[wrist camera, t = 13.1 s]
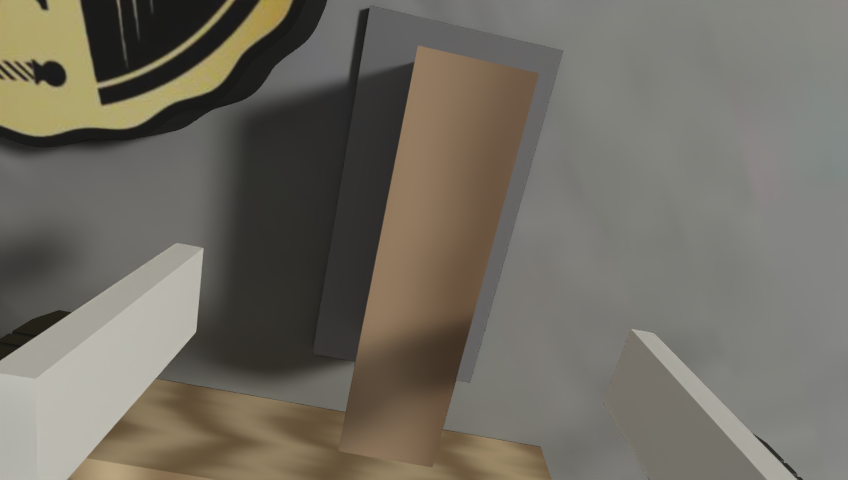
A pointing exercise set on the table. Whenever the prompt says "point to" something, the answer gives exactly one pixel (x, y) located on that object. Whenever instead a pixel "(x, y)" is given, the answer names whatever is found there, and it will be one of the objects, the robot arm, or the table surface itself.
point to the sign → (136, 62)
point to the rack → (274, 444)
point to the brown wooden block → (433, 250)
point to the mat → (375, 157)
